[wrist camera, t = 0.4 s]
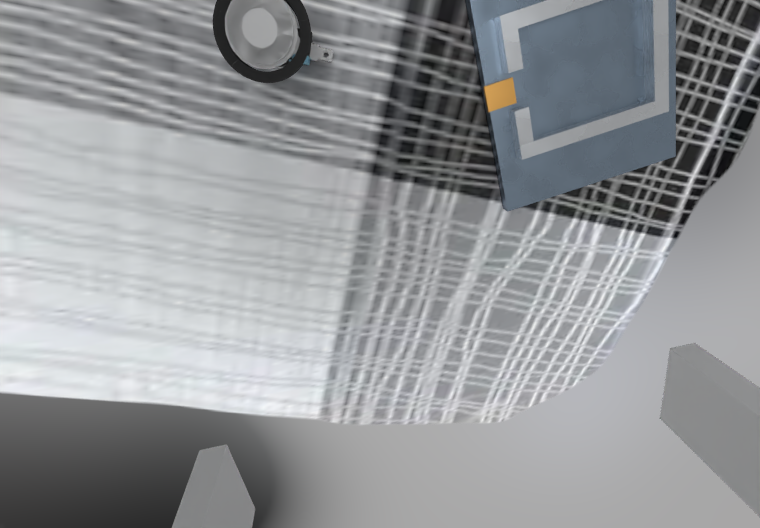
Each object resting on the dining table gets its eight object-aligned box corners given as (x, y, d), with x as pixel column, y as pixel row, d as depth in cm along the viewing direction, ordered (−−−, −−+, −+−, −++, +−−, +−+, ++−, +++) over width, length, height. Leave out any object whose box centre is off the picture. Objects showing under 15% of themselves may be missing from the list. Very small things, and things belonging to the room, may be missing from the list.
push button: (337, 20, 31) (341, -10, 22) (327, 95, 33) (326, 96, 24) (246, -3, 30) (210, -44, 21) (241, 76, 32) (205, 70, 22)
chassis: (455, -40, 30) (464, -50, 28) (665, -111, 30) (689, -126, 28) (501, 209, 38) (510, 215, 36) (667, 154, 38) (686, 158, 36)
